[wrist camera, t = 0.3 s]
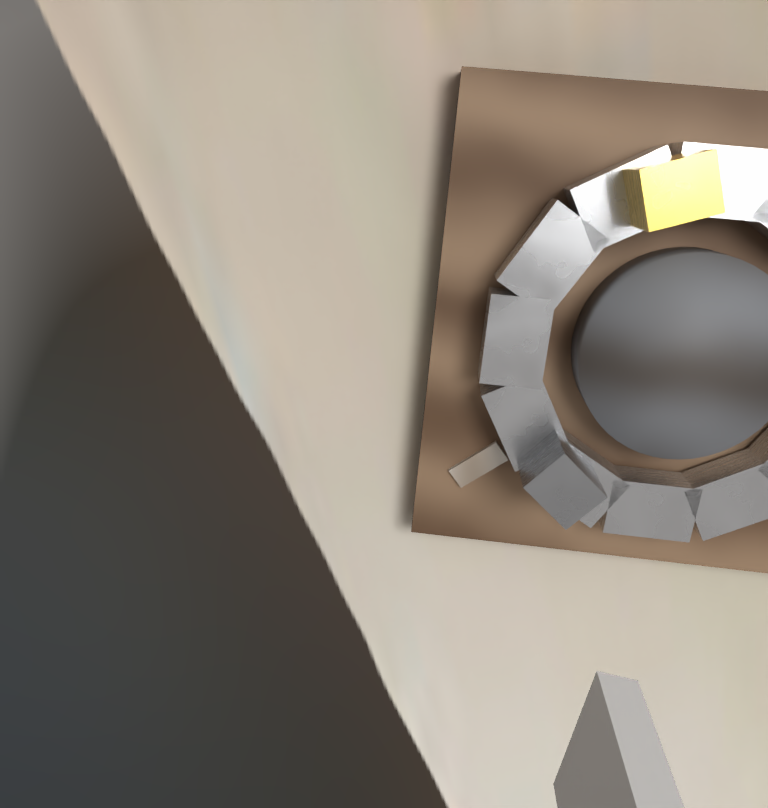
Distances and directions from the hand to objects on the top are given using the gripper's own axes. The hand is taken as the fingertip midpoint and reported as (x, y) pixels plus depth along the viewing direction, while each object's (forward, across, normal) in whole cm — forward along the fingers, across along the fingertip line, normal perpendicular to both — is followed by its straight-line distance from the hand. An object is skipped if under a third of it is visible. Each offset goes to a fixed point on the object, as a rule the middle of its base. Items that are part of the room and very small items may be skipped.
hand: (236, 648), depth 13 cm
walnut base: (+27, +15, +3) cm, 31 cm away
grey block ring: (+25, +15, +3) cm, 29 cm away
